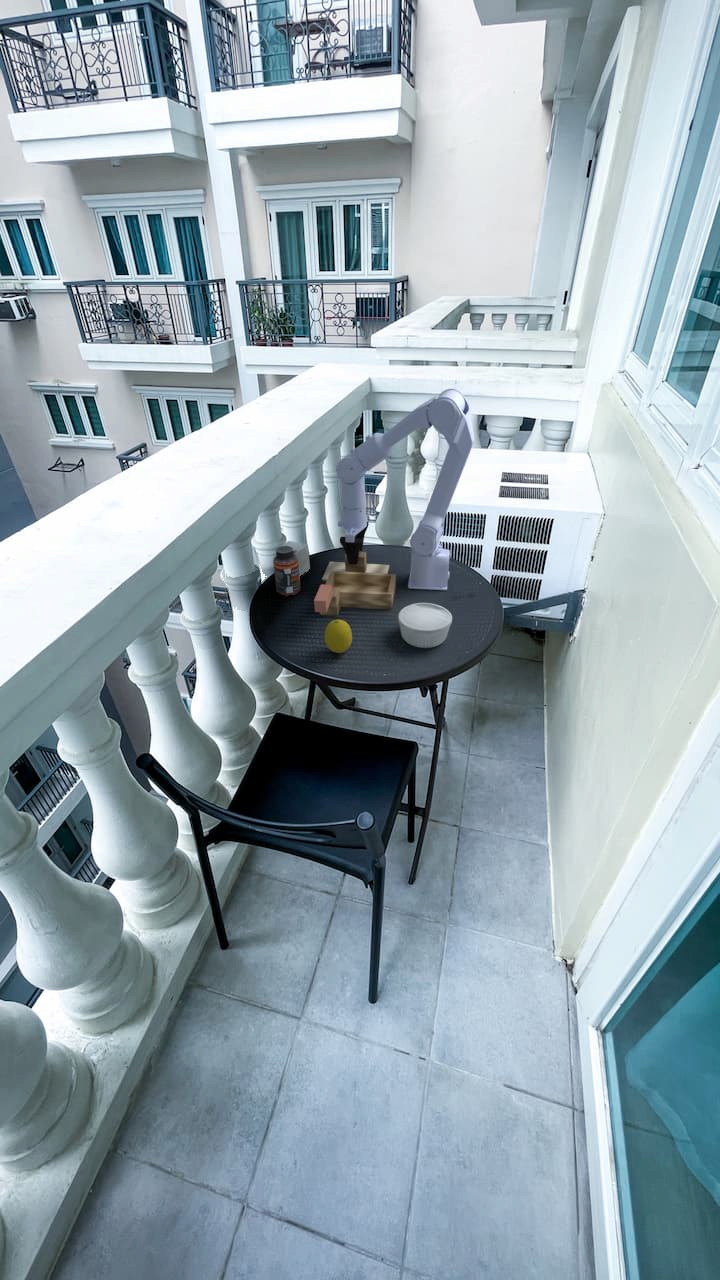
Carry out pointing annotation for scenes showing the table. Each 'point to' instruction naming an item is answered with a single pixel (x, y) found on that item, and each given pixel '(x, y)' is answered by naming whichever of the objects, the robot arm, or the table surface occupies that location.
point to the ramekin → (424, 624)
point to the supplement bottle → (286, 571)
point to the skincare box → (300, 555)
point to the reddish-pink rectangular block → (323, 598)
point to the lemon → (338, 636)
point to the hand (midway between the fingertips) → (355, 557)
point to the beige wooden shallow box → (360, 591)
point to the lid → (355, 567)
